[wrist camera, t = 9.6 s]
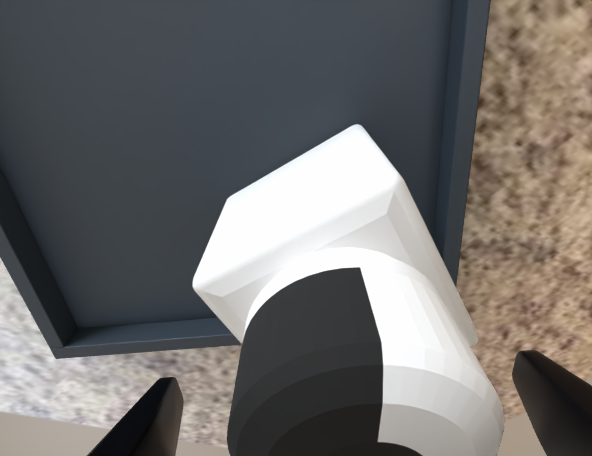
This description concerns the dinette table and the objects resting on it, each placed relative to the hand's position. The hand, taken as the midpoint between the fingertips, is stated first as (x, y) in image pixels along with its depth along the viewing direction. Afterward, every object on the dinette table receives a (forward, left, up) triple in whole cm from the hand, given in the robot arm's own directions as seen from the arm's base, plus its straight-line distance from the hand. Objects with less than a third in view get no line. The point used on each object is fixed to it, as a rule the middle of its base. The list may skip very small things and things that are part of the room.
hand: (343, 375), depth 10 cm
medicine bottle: (0, 0, -10) cm, 10 cm away
